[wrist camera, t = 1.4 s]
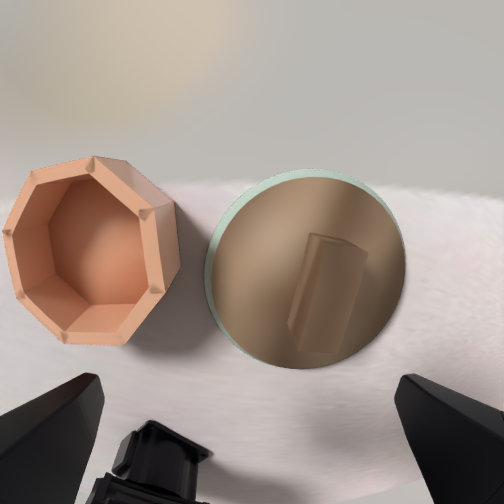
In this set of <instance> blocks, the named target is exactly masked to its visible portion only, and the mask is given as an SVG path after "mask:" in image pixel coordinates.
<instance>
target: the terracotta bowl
mask: <svg viewBox="0 0 504 504" xmlns="http://www.w3.org/2000/svg"><path fill="white" fill-rule="evenodd" d="M2 232H3V238H4V244H5V249H6V255H7V260H8V265H9V269H10V274H11V278H12V283H13V287H14V291H15V295H16V298H17V299H18V300H19V302H20V303H21V304H22V305H23V306H24V307H25V308H26V309H27V310H28V311H29V312H30V313H31V314H32V315H33V316H34V317H35V318H36V319H38V320H39V321H40V322H41V323H42V324H43V325H44V326H45V327H46V328H47V329H48V330H49V331H50V332H51V333H53V334H54V335H55V336H56V337H57V338H58V339H59V340H60V341H62V342H63V343H64V344H83V345H125V344H126V342H127V341H128V340H129V338H130V337H131V336H132V334H133V333H134V332H135V331H136V329H137V328H138V327H139V325H140V324H141V323H142V322H143V320H144V319H145V318H146V317H147V315H148V314H149V313H150V311H151V310H152V309H153V308H154V306H155V305H156V304H157V303H158V301H159V300H160V299H161V298H162V296H163V295H164V294H165V293H166V292H167V290H168V288H169V286H170V285H171V283H172V281H173V279H174V278H175V276H176V274H177V272H178V271H179V269H180V267H181V261H180V253H179V244H178V235H177V226H176V217H175V207H174V201H173V200H172V199H171V198H170V197H168V196H167V195H166V194H165V193H164V192H162V191H161V190H160V189H159V188H158V187H156V186H155V185H154V184H153V183H152V182H151V181H149V180H148V179H147V178H146V177H144V176H143V175H142V174H141V173H140V172H139V171H138V170H136V169H135V168H134V167H133V166H132V165H130V164H129V163H128V162H127V161H123V160H117V159H111V158H105V157H98V156H92V157H88V158H83V159H79V160H74V161H70V162H66V163H61V164H57V165H53V166H49V167H45V168H42V169H38V170H34V171H31V173H30V174H29V176H28V178H27V180H26V182H25V184H24V186H23V188H22V190H21V192H20V194H19V196H18V198H17V200H16V202H15V204H14V206H13V208H12V210H11V213H10V215H9V217H8V219H7V222H6V224H5V226H4V229H3V230H2Z"/></svg>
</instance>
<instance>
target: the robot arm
mask: <svg viewBox="0 0 504 504" xmlns="http://www.w3.org/2000/svg"><path fill="white" fill-rule="evenodd" d="M394 401H395V405H396V408H397V411H398V414H399V417H400V420H401V423H402V426H403V429H404V432H405V435H406V438H407V441H408V443H409V445H410V448H411V450H412V452H413V454H414V457H415V459H416V461H417V464H418V466H419V468H420V471H421V473H422V475H423V478H424V480H425V482H426V485H427V487H428V490H429V492H430V495H431V497H432V499H433V502H434V504H504V412H503V411H500V410H498V409H496V408H493V407H491V406H488V405H486V404H484V403H481V402H479V401H476V400H474V399H472V398H469V397H467V396H465V395H462V394H460V393H458V392H455V391H453V390H451V389H448V388H446V387H444V386H442V385H439V384H437V383H435V382H433V381H430V380H428V379H426V378H424V377H421V376H419V375H417V374H414V373H412V374H406V375H403V376H402V377H401V379H400V382H399V385H398V388H397V390H396V393H395V397H394ZM103 406H104V393H103V390H102V386H101V382H100V378H99V376H98V375H97V374H92V373H83V374H81V375H79V376H77V377H75V378H74V379H72V380H70V381H68V382H66V383H64V384H62V385H60V386H58V387H56V388H54V389H52V390H51V391H49V392H47V393H45V394H43V395H41V396H39V397H37V398H35V399H33V400H31V401H29V402H27V403H25V404H23V405H21V406H19V407H17V408H15V409H13V410H11V411H9V412H7V413H5V414H3V415H1V416H0V504H74V503H75V500H76V496H77V493H78V490H79V487H80V484H81V481H82V478H83V475H84V472H85V469H86V466H87V463H88V460H89V458H90V455H91V452H92V449H93V446H94V443H95V439H96V435H97V431H98V426H99V422H100V418H101V414H102V410H103ZM150 425H151V426H150ZM208 454H209V452H208V451H207V450H206V449H204V448H202V447H200V446H198V445H196V444H194V443H192V442H190V441H188V440H186V439H184V438H183V437H181V436H179V435H177V434H175V433H173V432H172V431H170V430H168V429H166V428H165V427H163V426H161V425H160V424H158V423H156V422H154V421H152V420H148V421H147V422H146V423H145V424H144V425H143V426H141V427H140V428H139V429H138V430H137V431H136V430H135V431H132V432H131V433H130V434H129V435H128V436H127V437H126V438H125V439H123V440H122V442H121V444H120V447H119V450H118V453H117V456H116V458H115V461H114V464H113V467H112V473H113V474H115V475H116V477H115V476H113V475H112V474H110V473H108V472H106V474H105V476H104V478H96V481H95V483H94V486H93V489H92V491H91V494H90V496H89V498H88V500H87V501H86V503H85V504H210V503H206V502H203V503H202V502H197V501H195V499H196V486H197V473H198V463H200V462H201V461H203V460H204V459H206V458H207V457H208Z"/></svg>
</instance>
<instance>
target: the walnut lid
mask: <svg viewBox="0 0 504 504" xmlns="http://www.w3.org/2000/svg"><path fill="white" fill-rule="evenodd" d="M404 275H405V256H404V248H403V244H402V240H401V236H400V234H399V231H398V229H397V226H396V224H395V223H394V221H393V219H392V217H391V216H390V214H389V213H388V212H387V210H386V209H385V208H384V207H383V205H382V204H381V203H379V202H378V201H377V200H376V199H375V198H374V197H373V196H372V195H370V194H369V193H367V192H366V191H365V190H363V189H361V188H359V187H357V186H355V185H353V184H351V183H348V182H345V181H342V180H338V179H333V178H328V177H305V178H296V179H292V180H288V181H284V182H281V183H279V184H276V185H274V186H271V187H269V188H267V189H266V190H264V191H262V192H260V193H259V194H257V195H256V196H255V197H253V198H252V199H251V200H249V201H248V202H247V203H246V204H245V205H244V206H243V207H242V208H241V209H240V210H239V211H238V212H237V213H236V214H235V216H234V217H233V218H232V220H231V221H230V222H229V224H228V225H227V227H226V229H225V231H224V232H223V234H222V236H221V239H220V241H219V244H218V246H217V249H216V253H215V257H214V261H213V266H212V276H211V284H212V295H213V301H214V305H215V308H216V311H217V314H218V317H219V319H220V321H221V323H222V325H223V326H224V328H225V330H226V331H227V332H228V334H229V335H230V337H231V338H232V339H233V340H234V341H235V342H236V343H237V344H238V345H239V346H240V347H241V348H242V349H244V350H245V351H246V352H247V353H249V354H251V355H252V356H254V357H256V358H257V359H259V360H261V361H264V362H266V363H268V364H272V365H275V366H279V367H284V368H290V369H310V368H317V367H322V366H327V365H330V364H333V363H336V362H339V361H341V360H343V359H345V358H347V357H349V356H351V355H353V354H354V353H356V352H358V351H359V350H360V349H362V348H363V347H364V346H366V345H367V344H368V343H369V342H370V341H371V340H372V339H374V338H375V337H376V336H377V334H378V333H379V332H380V331H381V330H382V329H383V327H384V326H385V325H386V323H387V322H388V320H389V319H390V317H391V315H392V313H393V312H394V310H395V308H396V306H397V303H398V300H399V298H400V295H401V291H402V287H403V283H404Z"/></svg>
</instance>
